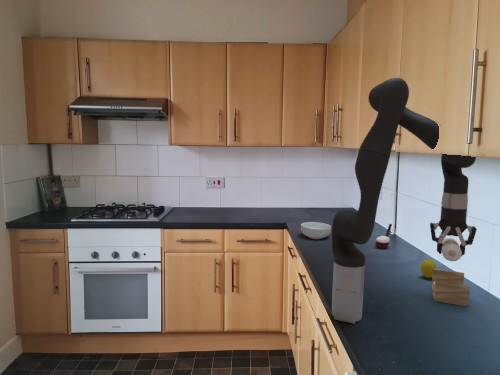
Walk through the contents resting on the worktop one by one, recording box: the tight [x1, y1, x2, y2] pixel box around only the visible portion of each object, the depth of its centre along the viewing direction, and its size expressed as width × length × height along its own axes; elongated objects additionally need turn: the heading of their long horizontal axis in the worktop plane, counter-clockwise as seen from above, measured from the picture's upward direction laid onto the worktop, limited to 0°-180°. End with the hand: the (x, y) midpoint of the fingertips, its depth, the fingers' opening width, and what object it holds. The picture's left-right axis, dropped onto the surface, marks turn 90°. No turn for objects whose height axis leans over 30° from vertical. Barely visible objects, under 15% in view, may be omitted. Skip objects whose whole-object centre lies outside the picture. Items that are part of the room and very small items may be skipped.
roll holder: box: [431, 268, 471, 307], centre depth 127 cm, size 13×10×7 cm
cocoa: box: [374, 223, 393, 250], centre depth 182 cm, size 10×6×12 cm, turn 91°
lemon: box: [420, 258, 437, 279], centre depth 143 cm, size 6×6×8 cm
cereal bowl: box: [300, 221, 332, 240], centre depth 200 cm, size 17×17×7 cm
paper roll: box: [441, 237, 463, 262], centre depth 121 cm, size 9×6×6 cm
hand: (450, 254), depth 122 cm, fingers closed on paper roll, 5 cm apart
